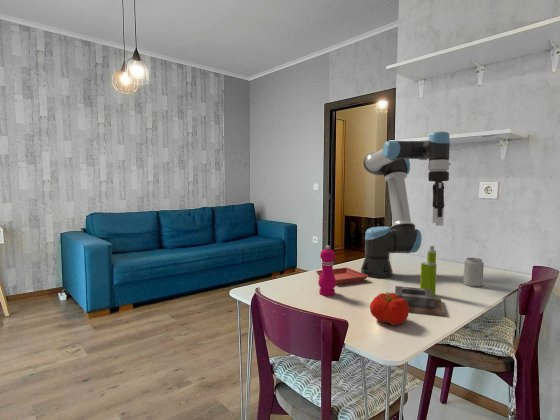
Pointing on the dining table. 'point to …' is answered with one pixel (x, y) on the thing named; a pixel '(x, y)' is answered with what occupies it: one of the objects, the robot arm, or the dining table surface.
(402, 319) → the tomato
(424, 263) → the vape
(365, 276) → the plant saucer
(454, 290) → the dining table surface
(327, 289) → the pepper mill
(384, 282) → the dining table surface
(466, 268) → the can
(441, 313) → the charging dock
